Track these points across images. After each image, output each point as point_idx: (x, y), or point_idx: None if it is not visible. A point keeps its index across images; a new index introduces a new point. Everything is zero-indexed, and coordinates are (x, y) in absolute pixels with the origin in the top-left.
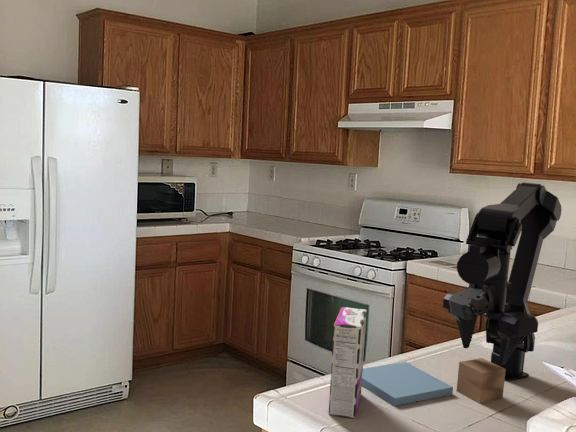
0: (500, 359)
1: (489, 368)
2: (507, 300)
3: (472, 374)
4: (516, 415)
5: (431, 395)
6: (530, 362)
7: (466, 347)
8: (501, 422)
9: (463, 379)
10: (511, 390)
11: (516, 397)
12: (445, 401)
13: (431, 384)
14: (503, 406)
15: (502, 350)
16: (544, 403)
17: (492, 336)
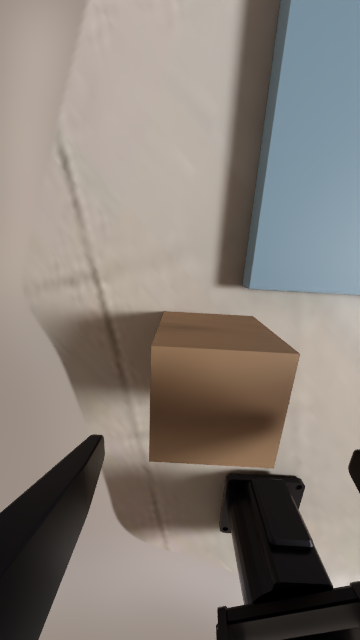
0: (80, 453)
1: (179, 412)
2: None
3: (207, 338)
4: (74, 342)
5: (258, 189)
6: None
7: (354, 460)
8: (52, 271)
9: (243, 329)
10: None
11: None
12: (219, 226)
13: (304, 232)
14: (126, 355)
15: (8, 522)
16: None
17: (355, 635)
